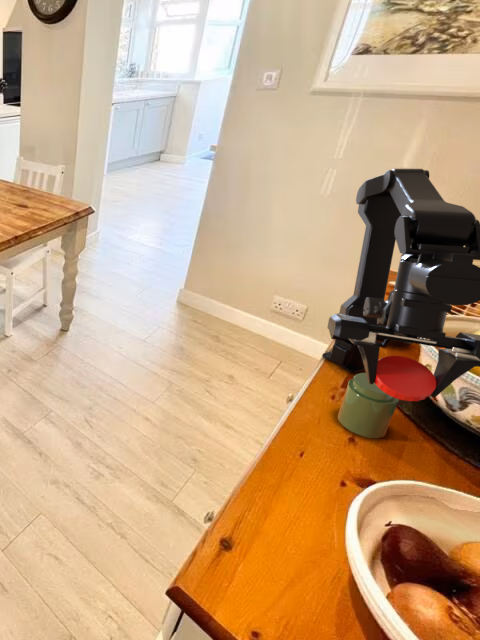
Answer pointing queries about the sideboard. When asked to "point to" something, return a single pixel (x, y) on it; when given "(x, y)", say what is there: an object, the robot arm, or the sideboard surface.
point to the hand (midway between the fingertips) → (400, 389)
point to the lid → (404, 378)
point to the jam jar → (366, 408)
